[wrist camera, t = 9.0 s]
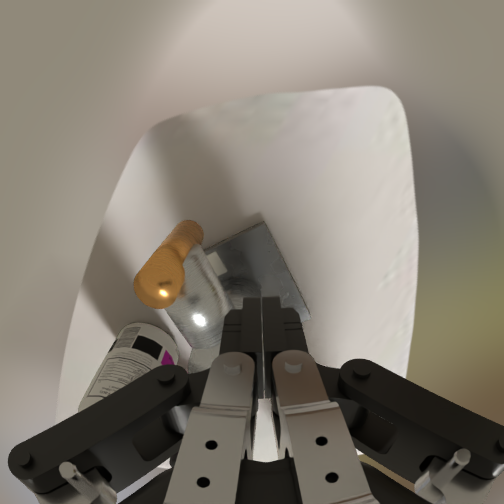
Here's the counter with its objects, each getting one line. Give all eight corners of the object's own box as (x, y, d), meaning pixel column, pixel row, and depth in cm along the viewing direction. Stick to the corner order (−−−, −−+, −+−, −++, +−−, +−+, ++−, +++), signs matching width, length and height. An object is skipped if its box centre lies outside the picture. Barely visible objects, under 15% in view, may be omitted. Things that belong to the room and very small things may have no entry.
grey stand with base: (309, 313, 33) (322, 356, 26) (217, 349, 35) (211, 394, 28) (264, 221, 29) (267, 248, 22) (163, 270, 31) (140, 307, 24)
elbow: (279, 330, 28) (288, 404, 19) (221, 350, 29) (212, 423, 20) (215, 205, 23) (192, 246, 15) (150, 237, 24) (102, 289, 16)
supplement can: (193, 353, 35) (169, 453, 21) (151, 375, 37) (121, 462, 23) (147, 308, 33) (98, 404, 19) (109, 336, 34) (60, 420, 20)
